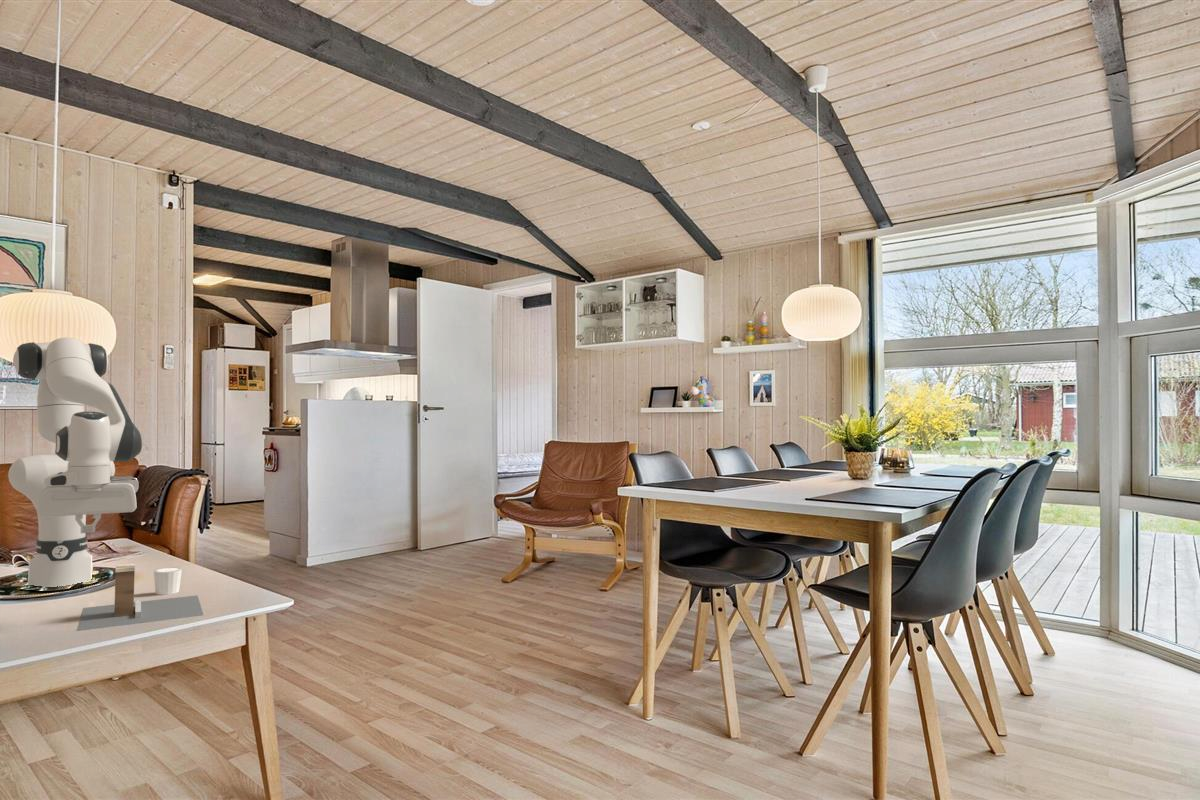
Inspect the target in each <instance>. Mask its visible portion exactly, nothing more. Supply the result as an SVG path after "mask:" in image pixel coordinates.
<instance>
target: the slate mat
mask: <svg viewBox="0 0 1200 800" xmlns="http://www.w3.org/2000/svg"><path fill="white" fill-rule="evenodd" d="M114 608H115V604H106V605H100V606H99V605H97V606H90V607H83V608H82V610H81V611H82V612H81V615H80V619H79V622H78V626H77V630H76V631H77V632H79V631H80V632H81V631H88V630H97V629H103V628H112V627H119V626H127V625H128V626H129V625H136V624H144V623H153V622H160V621H167V620H176V619H182V618H193V617H200V616H204V612H203V608H202V606H201V602H200V600H199V596H198V595H197V594H196V595H188V596H179V597H172V598H171V597H170V598H161V599H153V600H152V599H151V600H143V601H141V600H134V609H133V615H129V616H121V617H114Z"/></svg>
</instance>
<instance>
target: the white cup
mask: <svg viewBox="0 0 1200 800" xmlns="http://www.w3.org/2000/svg"><path fill="white" fill-rule="evenodd" d="M182 571H183V568H182V567H163V568H158V569H155V570H153V577H154V580H153V581H154V592H155V594H156V595H159V596H162V595H163V596H164V595H165V596H166V595H173V594H177V593H179V592H180V586H181V579H182Z"/></svg>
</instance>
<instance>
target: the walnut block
mask: <svg viewBox="0 0 1200 800" xmlns="http://www.w3.org/2000/svg"><path fill="white" fill-rule="evenodd" d="M135 568H136V567H135V563H129V564H117V565H115V574H114V575H115V577H114V578H115V579H114V580H115V581H114V605H115V608H114V617H121V616H129V615H133V609H134V602H135V600H134V599H135V571H136V569H135Z"/></svg>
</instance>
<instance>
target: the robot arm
mask: <svg viewBox="0 0 1200 800" xmlns="http://www.w3.org/2000/svg"><path fill="white" fill-rule="evenodd" d="M109 360H110V359H109V356H108V353H107V351H106V349H105V348H104V347H103V346H102V345H99V344H97V343H96V344H95V343H90V342H88V343H84V342H83V341H81V340H79V339H77V338H73V337H66V336H65V337H60V338H57V339H54V340H52V341H49V342H34V341H33V342H26V343H25V342H24V343H22V344H20V345H19V346H17V348H16V350H15V352H14V354H13V358H12V362H13V364H12V365H13V367H14V369H15V371H16V372H17V374H18V375H19V376H20V377H21V378H23V379H28V380H36V379H37V380H38V379H39V384H38V389H37V398H36V399H37V401H36V404H37V407H36V408H37V431H38V433H39V435H40V436H41V437H42V438H43V439H44V440H46V441H49V442H52V443H54V444H55V452H54V453H49V454H48V453H47V454H45V453H44V454H42V453H41V454H34V455H28V456H24V457H20V458H19V457H18V458H17V459H16V460H15V461H13V462H12V464H11V465H10V467H9V468H8V469H9V470H8V473H7V475H8V476H7V477H8V481H9V484H10V485H11V487H12V488H13V489H14V490H16V491H17V492H19V493H20V494H23V495H24V496H25V497H27V498H28V500H30V502H31V503H32V504H33V506H34V508H35V511H36V515H37V521H38V523H37V524H38V527H37V528H38V537H37V538H38V539H36V542H35V543H36V544H35V552H36V554H35V556H34V557H32V558H31V559H30V560H29V561H28V573H27V582H28V585H34V586H42V587H57V586H58V587H59V586H66V585H72V584H77V583H81V582H84V581H87V580H91V579H92V572H94V570H95V569H94V568H95V567H94V566H93V555H92V554H91V553H89V552H88V550H87V548H88V536H87V535H86V533H87V534H90V533H96V525H97V524H98V522H99V521H100V520H101V519H102V514H121V513H133V512H135V511H136V509H137V508H138V506H137V504H138V503H137V496H136V493H137V492H139V491H138V490H139V486H140V485H139V484H140V482H139V480H138V479H137V478H136V477H134V476H132V475H123V476H122V475H116V467H115V466H116V465H115V463H114V462H119V463H120V462H121V463H128V462H130V461H132V460H133V459H134V458H136V457H137V456H139V454H140V453H141V451H142V447H143V439H142V435H141V432H140V431H139V429H138V428H137V426H136V425H135V424H134V422H133V421H132V419H131V417H130V415H129V413H128V411H127V409H126V407H125V405H124V403H123V401H122V399H121V397H120V395H119V393H118V392H117V390H116V388H115V387H114V385H113V384H111V383H109V382H108V381H105V379H103V378H102V377H103V376H104V375H105V374H106V372H107V369H108V367H109ZM85 406H87V407H91V408H95V409H97V410H99V411H101V412H99V411H98V412H97V411H85ZM87 515H93V519H94V521H93V522H92V524H86V523H87V522H86V520H87Z"/></svg>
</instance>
